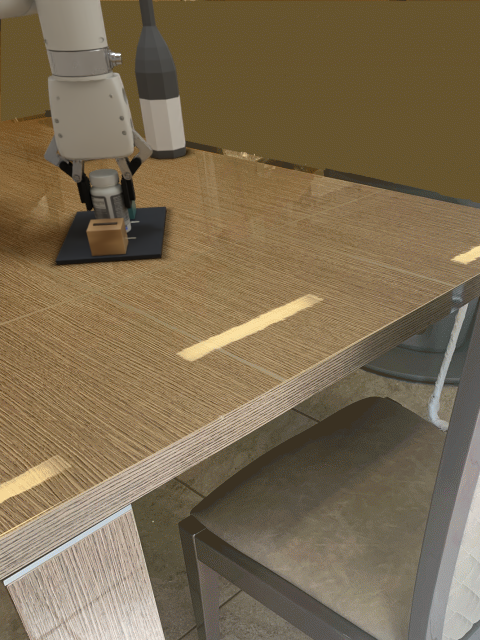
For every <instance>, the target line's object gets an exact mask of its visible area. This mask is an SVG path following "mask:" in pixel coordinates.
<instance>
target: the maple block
mask: <svg viewBox="0 0 480 640" xmlns="http://www.w3.org/2000/svg"><path fill="white" fill-rule="evenodd" d="M86 232H87V236H88V240H89V245H90V249H91V253H92V256H101V255H116V254H126V250H127V245H128V238H127V232H126V227H125V222H124V218H113V219H96V220H91V221H90V223H89V226H88V229H87V231H86Z"/></svg>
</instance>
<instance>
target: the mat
mask: <svg viewBox="0 0 480 640" xmlns="http://www.w3.org/2000/svg"><path fill="white" fill-rule="evenodd" d="M166 218H167V206H150V207H149V206H148V207H136V214H135V218H134V219H130V224H131V230H130V231H129V232H127V238H128V245H127V250H126V254H116V255H101V256H92V253H91V249H90V245H89V240H88V236H87V232H86V231H87V229H88V226H89V223H90V221H91V220H96V217H95V213H94V210H91V211H87V210H81V211H76V213H75V216H74V218H73V220H72V223H71V224H70V226H69V229H68V231H67V234H66V236H65V238H64V241H63V242H62V245H61V247H60V250H59V252H58V254H57V256H56V259H55V265H57V266H58V265H75V264H88V263H103V262H104V263H105V262H117V261H118V262H120V261H134V260H149V259H161V258H162V254H163V253H162V252H163V243H164V235H165V227H166V226H165V225H166Z"/></svg>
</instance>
